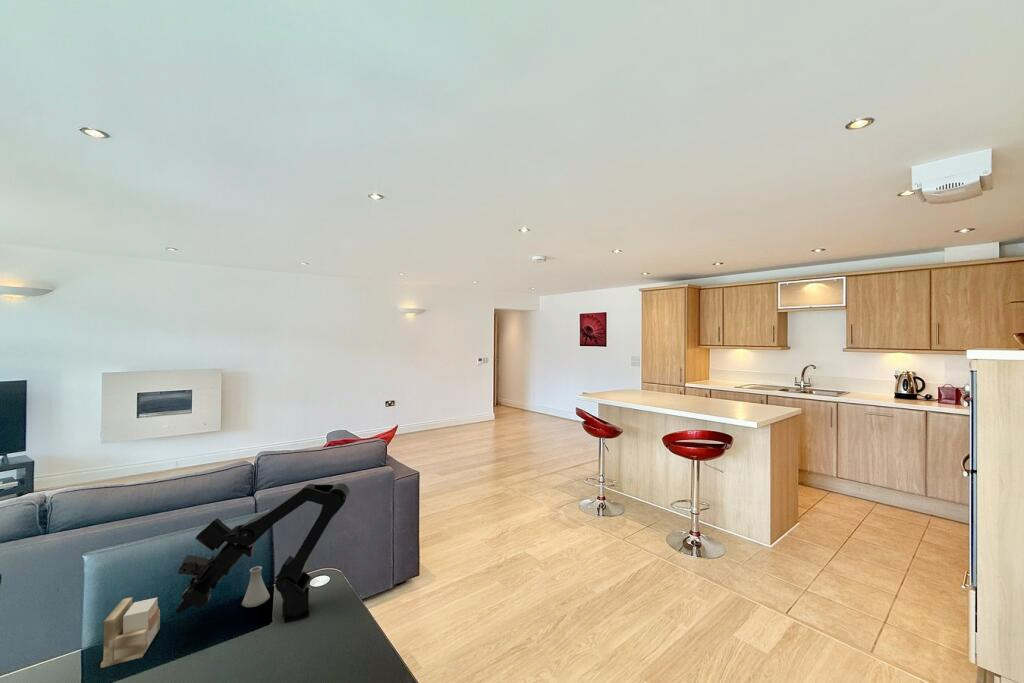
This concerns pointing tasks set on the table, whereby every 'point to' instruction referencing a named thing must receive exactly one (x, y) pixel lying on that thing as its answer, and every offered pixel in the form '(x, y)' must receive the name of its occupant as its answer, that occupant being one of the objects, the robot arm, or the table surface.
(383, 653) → the table surface
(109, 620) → the beige toy armchair
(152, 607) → the white box
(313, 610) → the table surface
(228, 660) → the table surface
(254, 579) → the flask
